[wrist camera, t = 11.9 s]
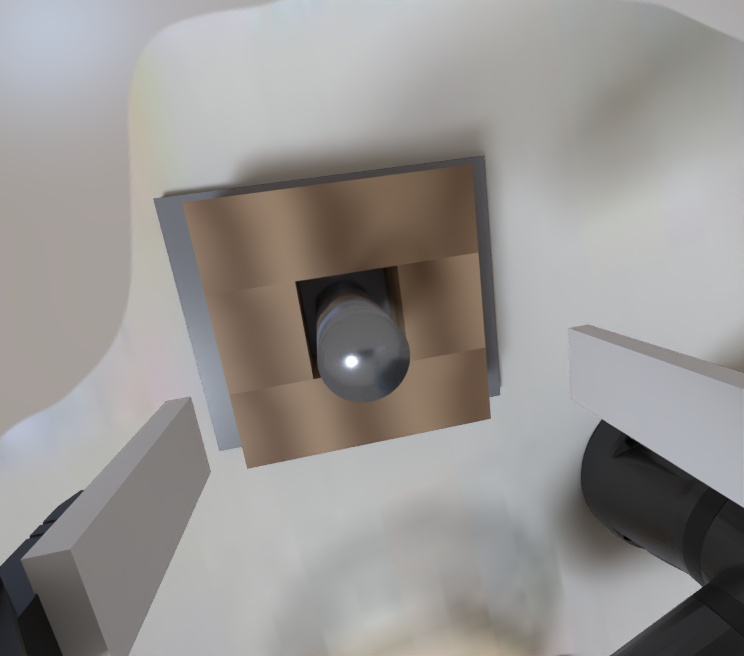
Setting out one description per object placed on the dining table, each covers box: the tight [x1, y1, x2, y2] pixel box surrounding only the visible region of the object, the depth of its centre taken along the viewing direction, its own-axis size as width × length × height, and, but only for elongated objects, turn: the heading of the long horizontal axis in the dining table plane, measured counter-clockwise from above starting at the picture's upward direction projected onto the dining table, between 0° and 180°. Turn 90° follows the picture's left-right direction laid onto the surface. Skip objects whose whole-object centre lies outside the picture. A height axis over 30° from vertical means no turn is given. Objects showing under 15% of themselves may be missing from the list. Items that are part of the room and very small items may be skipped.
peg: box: [316, 280, 410, 403], centre depth 23 cm, size 4×4×12 cm
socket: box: [154, 156, 500, 469], centre depth 27 cm, size 22×18×6 cm
